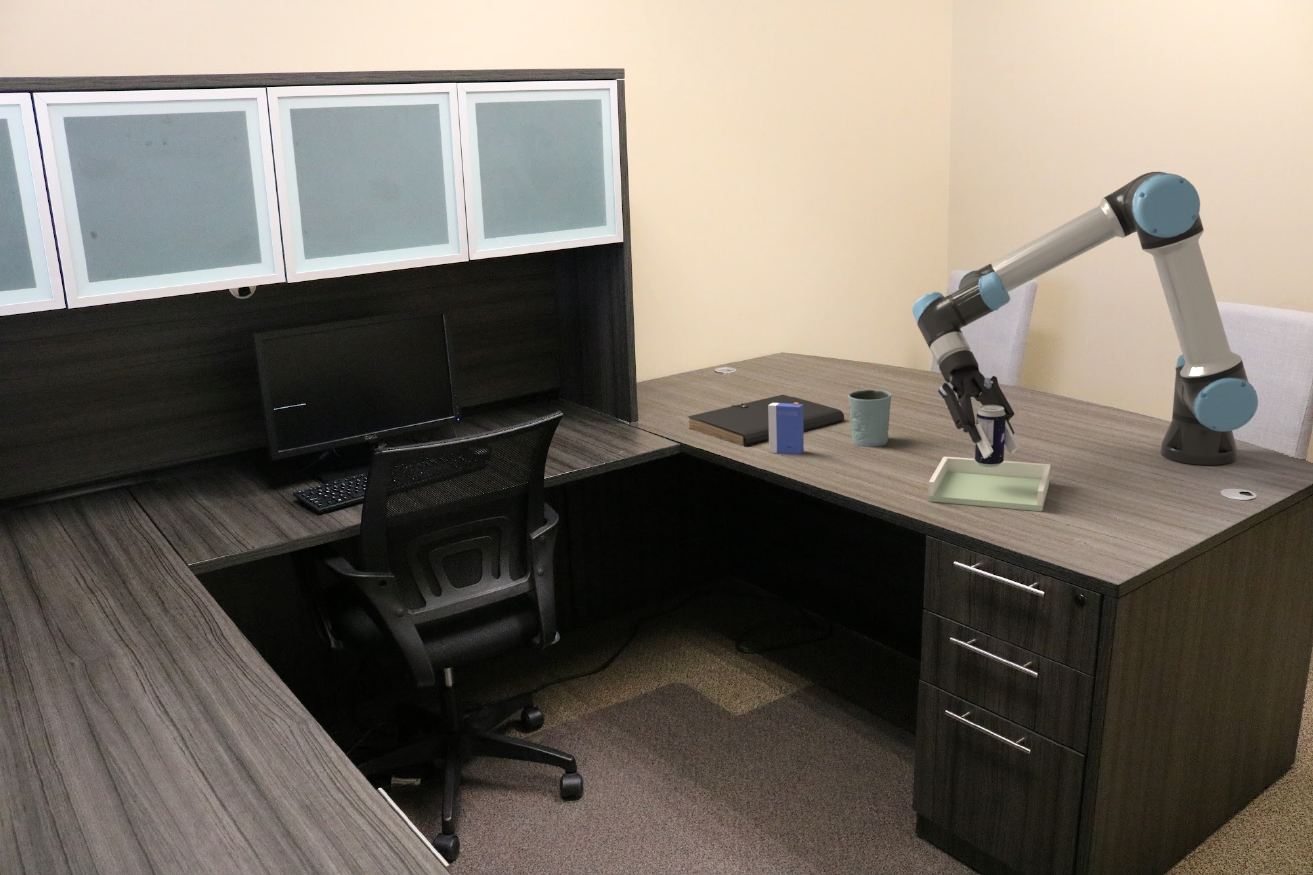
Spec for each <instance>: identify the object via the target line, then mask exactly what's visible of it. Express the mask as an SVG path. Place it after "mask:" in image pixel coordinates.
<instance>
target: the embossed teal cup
mask: <svg viewBox="0 0 1313 875" xmlns="http://www.w3.org/2000/svg"><path fill="white" fill-rule="evenodd" d="M847 397H848V406H849V411H850V412H849V417H850V427H851V428H850V430H851V441H852V444H853V445H856V446H859V447H865V448H867V447H869V448H870V447H871V448H875V447H882V446H885V445H887V444H888V441H889V432H888V431H889V429H890V428H889V426H890V413H891V402H892V393H891V392H889V391H886V390H883V389H871V388H870V389H868V388H867V389H859V390H853V391H851V392H850V393H849V394H848V396H847Z"/></svg>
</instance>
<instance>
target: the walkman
mask: <svg viewBox="0 0 1313 875" xmlns="http://www.w3.org/2000/svg"><path fill="white" fill-rule="evenodd" d="M768 413H769V414H768V419H769V440H768V452H769V453H771V454H785V455H786V454H787V455H788V454H789V455H802V454H803V452H804V451H805V450H804V448H805V446H804V445H805V444H804V436H805V435H804V434H805V433H804V431H803V404H799V403H793V404H787V403H771V404H769V405H768Z"/></svg>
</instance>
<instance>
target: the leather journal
mask: <svg viewBox="0 0 1313 875" xmlns="http://www.w3.org/2000/svg"><path fill="white" fill-rule="evenodd" d="M771 403H787V404H793V403H799V404H803V432H806V431H807V432H808V431H810V430H811V431H812V430H813V429H814V430H815V429H818V428H823V427H826V426H827V427H828V426H829V425H830V426H831V425H834V424H838V423H842V422H844V420H845V414H844V413H843V411H842V410H840V409H838V408H835V407H831V406H829V405H824V404H821V403H817V402H814V401H810V400H806V399H804V398H803V399H802V398H799V397H795V396H790V395H786V394H778V395H775V396H770V397H767V398H762V399H758V400H754V401H748V402H745V403H741V404H736V405H735V404H734V405H731V406H727V407H722V408H719V409H715V410H714V409H713V410H709V411H705V412H702V413H701V412H700V413H697V414H693V415H692V414H691V415H688V416H687V417H688V429H690V430H693V431H696V432H699V433H701V434H704V435H708V436H710V437H711V436H712V437H715V438H718V439H722V440H724V441H728V442H731V443H734V444H737V445H739V446H740V447H741V446H742V447H743V446H744V447H748V446H751V445H757V444H759V443H760V444H761V443H763V442H769V419H768V414H769V413H768V405H769V404H771Z"/></svg>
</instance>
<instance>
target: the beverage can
mask: <svg viewBox="0 0 1313 875" xmlns="http://www.w3.org/2000/svg"><path fill="white" fill-rule="evenodd" d="M975 422H976V424H975V426H976V425H977V424H980V425H981V427H982V429H983V431H984V433H985V435H986V437H987V439H988V441H989V443H990V445H991V447H992V449H993V452H992V453H991V454H990V455H989V456H988V457H987V458H983V456H982V453H981V451H980V449H979V447H978V445H977V443H975V448H974V449H975V451H974V459H975V460H976V462H978V464H979V465H980V466H984V467H997V466H999V465H1000V464H1001V463H1002V462H1003V461H1005V423H1006V413H1005V411H1004V407H1002V406H998V405H981V406H979V407H978V410H977V412H976V419H975Z"/></svg>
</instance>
